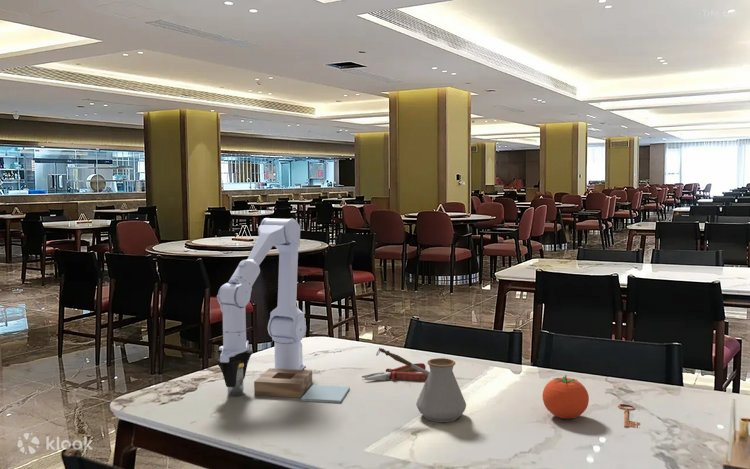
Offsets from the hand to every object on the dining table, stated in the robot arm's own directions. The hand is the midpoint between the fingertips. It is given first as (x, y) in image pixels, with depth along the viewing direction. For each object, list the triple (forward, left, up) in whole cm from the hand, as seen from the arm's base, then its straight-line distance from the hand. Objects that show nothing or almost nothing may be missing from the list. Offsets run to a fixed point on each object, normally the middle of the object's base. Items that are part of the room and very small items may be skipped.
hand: (235, 382), depth 168 cm
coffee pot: (+7, +48, -3) cm, 49 cm away
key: (+1, +96, -3) cm, 96 cm away
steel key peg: (0, 0, -3) cm, 3 cm away
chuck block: (-6, +11, -3) cm, 13 cm away
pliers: (-23, +40, -4) cm, 46 cm away
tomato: (+4, +81, -3) cm, 81 cm away
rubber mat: (-3, +23, -3) cm, 23 cm away
